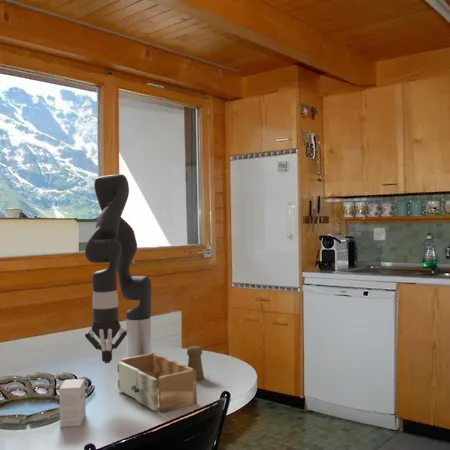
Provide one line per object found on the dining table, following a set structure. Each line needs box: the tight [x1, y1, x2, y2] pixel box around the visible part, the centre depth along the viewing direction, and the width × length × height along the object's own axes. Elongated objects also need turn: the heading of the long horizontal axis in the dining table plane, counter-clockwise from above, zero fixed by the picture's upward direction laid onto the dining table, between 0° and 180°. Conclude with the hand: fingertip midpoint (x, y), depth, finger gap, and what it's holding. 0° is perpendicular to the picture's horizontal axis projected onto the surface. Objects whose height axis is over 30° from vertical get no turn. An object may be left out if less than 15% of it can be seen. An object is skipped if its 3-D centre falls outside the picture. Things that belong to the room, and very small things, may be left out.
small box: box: [58, 378, 87, 428], centre depth 146 cm, size 8×6×10 cm
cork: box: [186, 345, 205, 382], centre depth 183 cm, size 6×6×11 cm
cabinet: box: [120, 352, 198, 414], centre depth 164 cm, size 26×15×10 cm, turn 36°
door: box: [117, 361, 139, 400], centre depth 166 cm, size 12×2×9 cm, turn 38°
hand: (107, 362), depth 160 cm, fingers closed
